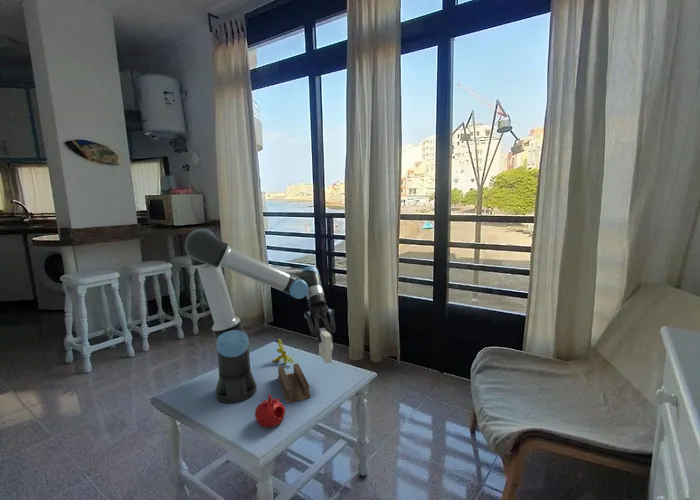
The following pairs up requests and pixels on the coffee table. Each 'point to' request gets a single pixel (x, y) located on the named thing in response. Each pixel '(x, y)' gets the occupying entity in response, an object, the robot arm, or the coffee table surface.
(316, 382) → the coffee table surface
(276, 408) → the pomegranate
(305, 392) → the rack
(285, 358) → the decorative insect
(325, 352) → the cream rectangular block
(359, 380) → the coffee table surface
